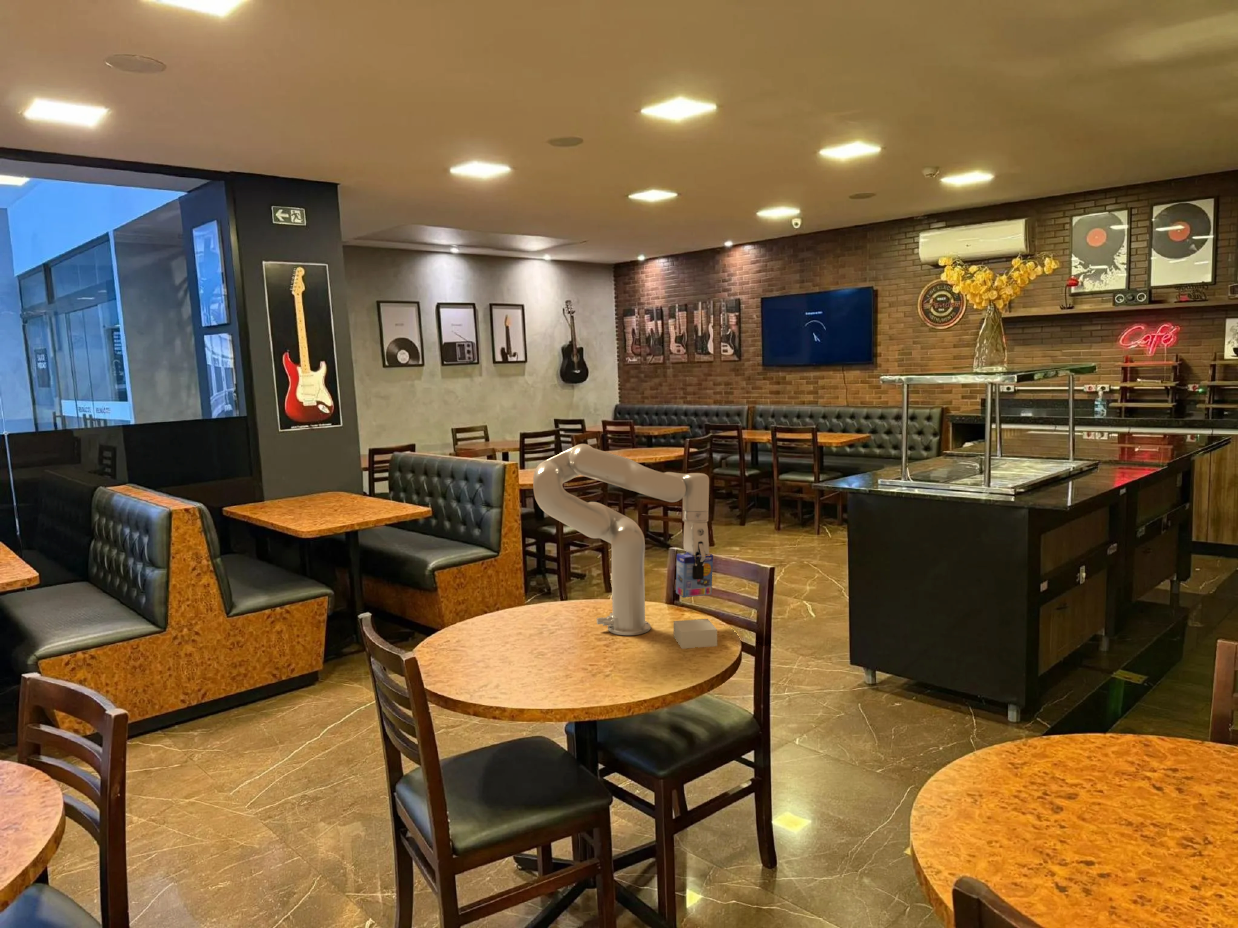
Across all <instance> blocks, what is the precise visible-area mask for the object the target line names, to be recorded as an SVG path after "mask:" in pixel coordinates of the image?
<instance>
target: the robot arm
mask: <svg viewBox="0 0 1238 928" xmlns="http://www.w3.org/2000/svg"><path fill="white" fill-rule="evenodd" d="M578 476H582V477H586V478H589V479H592V480H596V481H600V482H603V483H607V484H610V485H613V486H616V487H620V488H622V489H625V490H629V491H633V492H636V493H639V494H642V495H645V496H648V497H650V498H654V499H658V500H661V501H665V502H669V503H675V502H678V501H680V500H682V518H681V519H682V522H683V523H684V525H683V538H682V539H683V540H682V541H683V550H684V551H685V552H684V553H687V552H688V553H689V554H691V555H692V556H693V557H694V566H693V579H694V580H695V579H703V578H704V561H705V560H704V559H705V555H708V554H709V553H710V546H709V545H710V543H709V541H710V540H709V528H708V522H709V503H710V502H709V501H710V500H709V498H710V496H709V495H710V478H709V476H708V475H707V474H705V473H702V472H701V473H700V472H690V473H682V472H681V473H679V472H672V471H666V472H662V471H658V470H654V469H652V468H649V467H647V466H644V465H642V464H640V463H639V462H636V460H633V459H631V458H628V457H624V456H622V455H619V454H618V455H617V454H614V453H610V452H607V451H604V450H601V449H597V448H594V447H592V446H591V445H589V444H587V443H580V444H577V445H574V446H573V447H571V448H568V449H566V450H564V451H562V452H559V454H557V455H556V454H555V455H554V456H552V457H550V458H548V459H546V460H543V461H542V462H540V463H539V464H538V465H537V466H536V468H535V469H534V472H533V480H532V481H533V486H532V487H533V495H534V499H535V501H536V503H537V505H538V507H539V508H540V509H541V510H542V512H544V513H545V514H546V515H548V516H550V517H551V518H553V519H555V520H557V521H559V522H561V523H562V524H564V525H565V526H567V527H570V528H571V529H573V530H575V531H577V532H579V533H580V534H582V535H584V536H585V537H588V538H591V539H601V540H603V541H605V542H607V543H609V544H610V545H611V546H610V547H611V596H612V600H611V601H612V602H611V603H612V612H609V615H607V616H606V617H597V618H596V624H597V626H598V625H602V626H603V627H604V626H605V627H606V626H607V630H608V631H609V633H611V634H614V635H619V636H637V635H643V634H645V633H647V632H650V631H651V629H652V627H651V624H650V622H649V621H647V620H646V601H645V599H646V597H645V596H646V594H645V593H646V591H645V590H646V589H645V588H646V586H645V554H646V553H645V552H646V544H645V542H646V541H645V535H644V533H643V531H642V529H641V528H640V526H639V524H637V522H636V521H635V520H633V519H632V518H631V517H628V516H626V515H624V514H622V513H620V512H618V511H616V510H615V509H612V508H610V507H608V506H607V505H604V504H602V503H600V502H597V501H589V502H587V501H585V500H583V499H581V498H579V497H577V496H576V495H573V494H571V493H569V492H568V491H566V489H564V486H563V484H564V483H566V482H568V481H571V480H572V479H574V478H577V477H578ZM696 553H699V554H700V555H696ZM696 557H699V558H698V559H696Z"/></svg>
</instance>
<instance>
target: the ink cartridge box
mask: <svg viewBox="0 0 1238 928" xmlns="http://www.w3.org/2000/svg"><path fill="white" fill-rule="evenodd" d="M696 555H700V554H699V553H696ZM708 555H710V556H705V559H704V560H705V561H704V578H703V579H695V580H694V579H693V566H694V557H693V556H692V555H691V554H689V553H688V552H687V553H685V552H681V553H676V577H675V578H676V579H675V580H676V581H675V593H676V594H677V595H679V596H680V597H682V598H683V599H684V598H691V597H694V598H695V597H702V596H711V595H712V593H713V592H712V591H713V590H712V588H713V568H714V567H713V566H714V565H713V564H714V562H713V561H714V555H713V554H712V553H710V552H709V554H708ZM698 558H699V557H696V559H698Z"/></svg>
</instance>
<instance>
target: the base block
mask: <svg viewBox="0 0 1238 928" xmlns="http://www.w3.org/2000/svg"><path fill="white" fill-rule="evenodd" d="M673 638H674V640H675V639H676V640H675V641H676V642H678V643H677V644H678V646H679V645H680V646H679V647H680V648H681V650H682V649H694V648H695V647H698V648H709V647H710V648H711V647H718V629H717V628H716V627H715V625H714V624H713V623H712V622H711V620H709V618H701V619H699V618H698V619H686V620H685V619H684V620H673ZM695 649H696V648H695Z"/></svg>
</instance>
